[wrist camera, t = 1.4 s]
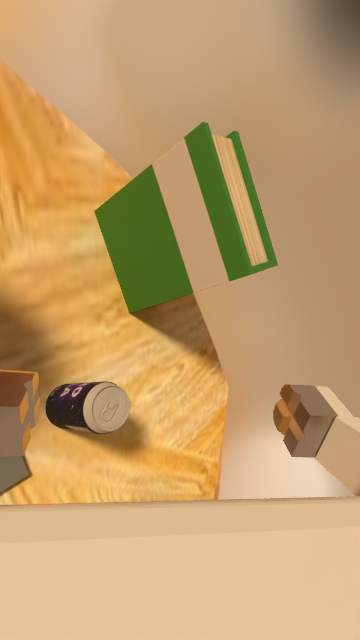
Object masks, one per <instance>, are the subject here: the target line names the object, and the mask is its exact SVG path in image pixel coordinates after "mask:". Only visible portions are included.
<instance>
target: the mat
mask: <svg viewBox="0 0 360 640" xmlns="http://www.w3.org/2000/svg"><path fill="white" fill-rule="evenodd" d="M28 475H29V474H28V471H27V468H26V466H25V463H24V460H23V458H22V456H6V457H0V492H2V491H4V490H5V489H7V488H8V487H10V486H12V485H13V484H15V483H17V482H18V481H20V480H21V479H23V478H25V477H26V476H28Z"/></svg>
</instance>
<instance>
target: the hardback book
mask: <svg viewBox="0 0 360 640" xmlns="http://www.w3.org/2000/svg"><path fill="white" fill-rule="evenodd" d="M95 214H96V217H97V220H98V223H99V226H100V229H101V232H102V235H103V238H104V240H105V243H106V246H107V249H108V252H109V255H110V258H111V261H112V264H113V267H114V270H115V272H116V275H117V278H118V281H119V284H120V287H121V290H122V293H123V296H124V299H125V302H126V304H127V307H128V310H129V313H132V312H135V311H138V310H141V309H144V308H147V307H151V306H154V305H157V304H160V303H163V302H166V301H169V300H173V299H176V298H179V297H182V296H185V295H188V294H191V293H195V292H198V291H201V290H204V289H207V288H210V287H213V286H216V285H220V284H223V283H226V282H229V281H232V280H235V279H238V278H242V277H245V276H248V275H251V274H254V273H257V272H259V271H262V270H265V269H268V268H271V267H273V266H277V265H278V264H277V260H276V257H275V253H274V250H273V247H272V243H271V240H270V237H269V233H268V230H267V227H266V224H265V220H264V217H263V213H262V210H261V207H260V203H259V200H258V197H257V194H256V190H255V187H254V183H253V181H252V177H251V174H250V170H249V167H248V163H247V160H246V157H245V154H244V150H243V147H242V143H241V140H240V137H239V133H238V132H237V131H233V132H232V133H230V134H229V135H227V136H226V137H221V136H216V135H213V134H211V132H210V128H209V125H208V123H205V122H202V123H201V124H200V125H199V126H198V127H196V128H195V129H194V130H193V131H191V132H190V133H189V134H188V135H187V136H186V137H184V138H183V139H182V140H180V141H179V142H178V143H177V144H176V145H174V146H173V147H172V148H171V149H170V150H168V151H167V152H166V153H165V154H163V155H162V156H161V157H160V158H159V159H157V160H156V161H155V162H154V163H153V164H151V165H150V166H149V167H148V168H146V169H145V170H144V171H143V172H142V173H141V174H139V175H138V176H137V177H135V178H134V179H133V180H132V181H131V182H129V183H128V184H127V185H126V186H125V187H123V188H122V189H121V190H120V191H118V192H117V193H116V194H115V195H114V196H112V197H111V198H110V199H109V200H108V201H106V202H105V203H104V204H103V205H101V206H100V207H99V208H98V209H97V210H95Z"/></svg>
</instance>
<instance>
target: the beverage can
mask: <svg viewBox="0 0 360 640" xmlns="http://www.w3.org/2000/svg"><path fill="white" fill-rule="evenodd" d="M129 411H130V402H129V398H128V395H127V393H126V392H125V391H124V390H123V389H122V388H121V387H119V386H117V385H116V384H114V383H112V382H91V383H74V384H64V385H61V386H59V387H57V388H55V389H54V390H53V391H52V392H51V394H50V395H49V397H48V399H47V402H46V414H47V417H48V419H49V420H50V422H51V423H52V424H54V425H55V426H57V427H61V428H67V429H73V430H79V431H85V432H91V433H97V434H107V433H110V432H112V431H114V430H116V429H118V428H120V427H121V426H122V425H123V424H124V423H125V421H126V420H127V417H128V415H129Z"/></svg>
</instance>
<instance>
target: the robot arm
mask: <svg viewBox="0 0 360 640" xmlns="http://www.w3.org/2000/svg"><path fill="white" fill-rule="evenodd" d="M38 385H39V374H38V373H37V372H31V371H16V370H0V457H6V456H24V454H25V451H26V448H27V446H28V443H29V440H30V438H31V436H30V429H31V428H32V427H34V426H35V424H36V421H37V418H38V413H39V408H40V394H39V393H38V392H37V391H36V390H37V387H38ZM280 395H281V398H282V399H281V400H280V401H278V402H277V403H276V405H275V408H274V411H273V414H274V415H273V418H274V423H275V426H276V428H277V430H278V431H279V432H281V433H282V434H283V435H285V436H284V440H283V441H284V443H285V445H286V447H287V449H288V450H289V452H290V454H291V456H292V457H315V459H316V460H317V461H318V462H319V463H320V464H321V465H322V466H324V467H325V468H326V469H327V470H328V471H329V472H330V473H331V474H333V476H335V477H336V478H337V479H338V480H339V481H340V482H341V483H342V484H343V485H344V486H346V487H347V488H348V489H349V490H350V491H351V492H352V493H353V494H354V495H356V496H355V497H315V498H271V499H231V500H189V501H148V502H107V503H66V504H25V505H0V640H360V419H359V418H357V417H353V416H352V415H351V414H350V412H349V411H348V410H347V409H346V408H345V407H344V405H343V404H342V403H341V402H340V401H339V399H338V398H337V397H336V396H335V395H334V393H333V392H332V391H331V390H330V389H329V388H328V387H326V386H325V385H311V386H310V385H287V384H285V385H284V386H283V387H282V389H281V392H280Z"/></svg>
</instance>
